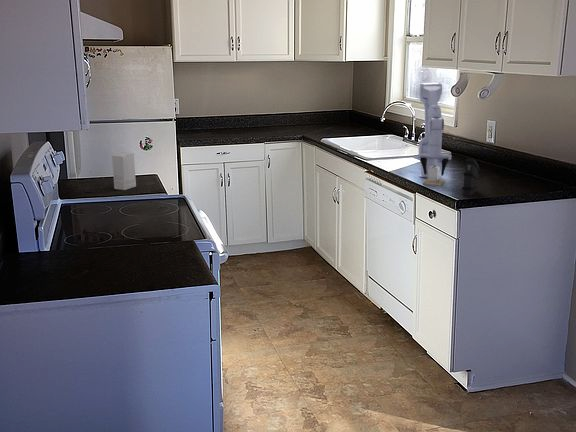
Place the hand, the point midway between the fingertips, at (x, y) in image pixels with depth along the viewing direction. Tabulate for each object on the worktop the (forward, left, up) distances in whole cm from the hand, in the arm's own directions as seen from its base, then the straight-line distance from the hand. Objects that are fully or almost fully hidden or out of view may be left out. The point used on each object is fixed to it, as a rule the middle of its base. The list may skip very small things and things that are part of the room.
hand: (433, 174), depth 299 cm
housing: (0, 0, -2) cm, 3 cm away
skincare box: (+52, -130, -4) cm, 140 cm away
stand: (0, 0, -4) cm, 4 cm away
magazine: (+15, +18, -4) cm, 24 cm away
